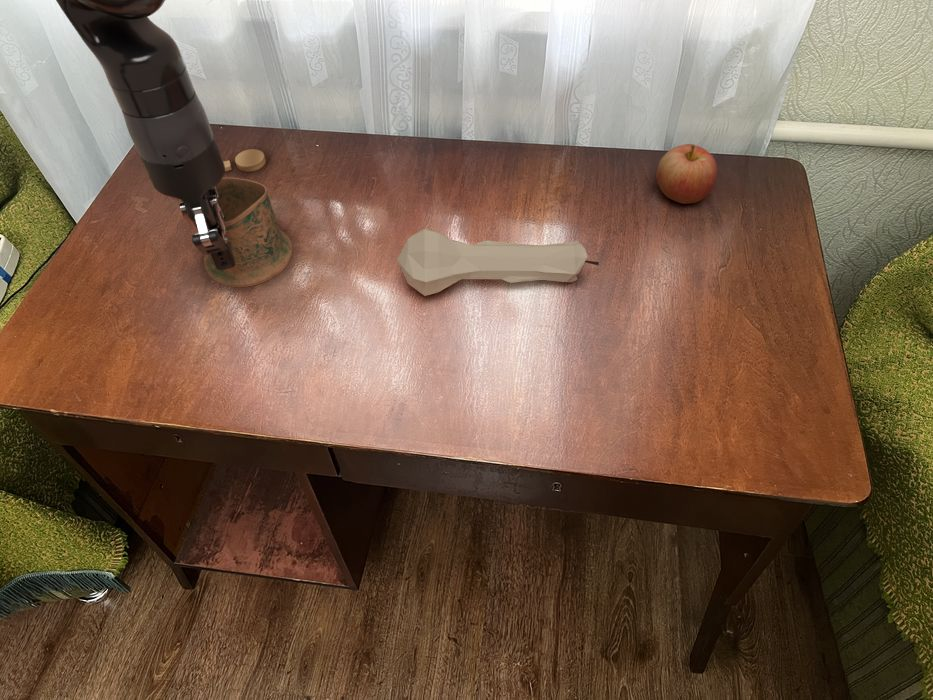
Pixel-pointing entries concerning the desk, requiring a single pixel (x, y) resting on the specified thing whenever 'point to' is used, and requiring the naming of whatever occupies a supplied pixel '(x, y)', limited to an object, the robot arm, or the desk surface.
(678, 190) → the apple
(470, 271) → the faceted club
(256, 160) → the spoon
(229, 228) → the mug
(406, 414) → the desk surface
